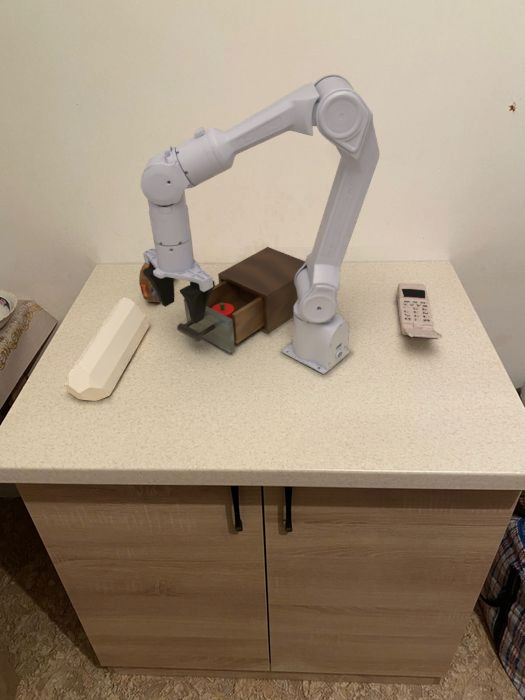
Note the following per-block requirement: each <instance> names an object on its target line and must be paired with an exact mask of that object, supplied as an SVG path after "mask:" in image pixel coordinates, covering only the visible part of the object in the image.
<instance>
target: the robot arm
mask: <svg viewBox="0 0 525 700" xmlns="http://www.w3.org/2000/svg"><path fill="white" fill-rule="evenodd" d="M373 116H374V113H373V112H372V109H370V107H369V105H367V103H366V101H365V100H364V99H363V97H362V96H361V94H360V93H358V91H356V90H355V88H354V86H352V85H351V83H350V82H349V81H348V79H346V78H345V77H344V76H342V75H339V74H335V73H333V74H332V73H331V74H330V73H329V74H326V75H323V76H322V77H320V78H318V79H317V80H316V81H315V82H312V81H311V82H308V83H305V84H302V85H301V86H299V87H297V88H296V89H294V90H292V91H291V92H289V93H288V94H286V95H284V96H282V97H280V98H279V99H277V100H275V101H274V102H272V103H270V104H269V105H267V106H265V107H264V108H262V109H260V110H259V111H256V112H255V113H254V114H252V115H251V116H249V117H246V118H245V119H244V120H242V121H240V122H238V123H237V124H236V125H234V126H232V127H230V128H228V129H227V130H224V129H219V128H217V127H213V126H212V127H210V128H207V129H206V130H205V128H204V127H203V126H201V127H199V128H197V129H195V130H194V133H193V135H194V136H193V137H192V138H189V139H188V140H185V141H184V142H182V143H180V144H178V145H177V146H175V147H172V145H169V146H167V147H165V148H164V150H163V152H162V151H161V152H157V153H155V154H153V155H152V156H151V157H150V158H149V159H148V160H147V163H146V165H145V167H144V169H143V171H142V174H141V178H140V187H141V191H142V194H143V195H144V196H145V198H146V200H147V204H148V215H149V219H150V220H149V221H150V226H151V227H150V228H151V232H152V240H153V244H154V247H151V248H149V249H146V250H145V251H142V254H143V260H144V263H145V262H146V263H148V264H150V265H149V267H148V268H146V269H144V270H143V274H144V275H145V276H146V277H147V279H148V280H149V281H150V282H151V284H152V285H153V287H154V289H155V291H156V293H157V295H158V297H159V299H160V303H161V305H162V306H163V307H164V308H165V307H168V306H170V305H171V304H173V303H175V295H176V294H175V281H174V278H175V280H182V281H185V282H189V284H188V285H186V286H184V287H182V288H181V289H179V293H180V294H181V296H182V297H183V300H184V299H185V301H186V303H187V306H188V309H189V314H190V318H191V320H192V322H193V323H195V324H196V323H198V322H199V321H201V320H203V319H204V315H205V309H206V305H207V301H208V298H209V296H210V294H211V292H212V290H213V288H214V287H215V285H216V283H215V281H214V279H213V276H212V275H211V274H209V273H208V272H206V270H204V268H203V267H202V266H201V265H200V263H198V262H197V260H196V259H195V256H194V247H193V239H192V231H191V222H190V215H189V213H190V212H189V207H188V205H187V199H186V198H187V197H186V191H185V190H187V189H193V188H195V187H197V186H199V185H200V184H203V183H204V182H206V181H208V180H211V179H212V178H214V177H217V176H218V175H220V174H222V173H224V172H226V171H228V170H229V169H232V167H233V165H234V162H235V158H236V157H237V155H239V154H241V153H244V152H245V151H248V150H249V149H252V148H255V147H256V146H258V145H261V144H263V143H265V142H267V141H269V140H272V139H273V138H276V137H278V136H281V135H283V134H284V133H287V132H294V133H298V134H303V135H306V136H310V137H313V136H314V129H313V127H316V128H317V130H318V132H319V133H320V135H321V136H322V137H323V138H325V140H327V141H328V142H329V143H330V144H332V145H333V146H334V147H335V148H336V150H337V152H338V153H339V156H340V159H339V162H338V166H337V169H336V172H335V175H334V179H333V180H332V185H331V188H330V190H329V195H328V198H327V202H326V203H325V207H324V210H323V214H322V216H321V221H320V224H319V227H318V231H317V233H316V237H315V240H314V244H313V247H312V250H311V253H309V254H307V255H306V257H305V260H304V261H305V263H304V265H303V266H302V267H301V268H300V269H299V270H298V272H297V273H296V275H295V278H294V284H295V287H296V289H297V295H298V300H297V301H296V303H295V305H294V313H293V317H292V318H293V319H292V323H293V324H292V342H291V343H290V344H289V345H287V346H286V347H285V348H283V349H282V353H283V354H284V355H286V356H288V357H290V358H292V359H294V360H295V361H297V362H299V363H301V364H303V365H305V366H307V367H309V368H311V369H313V370H314V371H316V372H318V373H320V374H322V375H325V374H327V373H328V372H329V371H330V370H332V369H333V368H334V367H335V366H336V365H337V364H339V362H341V361H342V360H343V359H344V358H345V357H347V356H348V355H349V354H350V350H349V339H350V330H351V329H350V328H351V327H350V323H349V322H348V321H347V320H346V319H344V318H343V317H341V315H339V313H338V309H339V301H338V293H339V290H340V288H341V287H340V285H341V267H342V264H343V261H344V259H345V255H346V254H347V253H346V252H347V250H348V247H349V245H350V241H351V239H352V236H353V233H354V231H355V228H356V224H357V222H358V219H359V216H360V213H361V210H362V207H363V205H364V202H365V199H366V195H367V193H368V192H369V191H368V190H369V188H370V185H371V183H372V180H373V176H374V175H375V171H376V168H377V165H378V162H379V159H380V155H381V153H380V148H379V144H378V143H379V142H378V138H377V134H376V129H375V125H374V117H373Z"/></svg>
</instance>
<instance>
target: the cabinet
mask: <svg viewBox="0 0 525 700" xmlns="http://www.w3.org/2000/svg"><path fill="white" fill-rule="evenodd" d="M304 263H305V260H303V259H300V258H298V257H295V256H293V255H290V254H287V253H285V252H282V251H280V250H277V249H275V248H272V247H269V246H266V247H264V248H263V249H261V250H259V251H256V253H253V254H252V255H250V256H248V257H246V258H245V259H242V260H241V261H239V262H237V263H235V264H233V265H231V266H230V267H228V268H226V269H224V270H222V271H220V272H219V273H217V277H218V284H219V283H221V282H222V281H224V280H225V281H227V282H230V283H232V284H234V285H236V286H238V287H240V288H243V289H245V290H247V291H249V292H251V293H253V294H256V295H258V296H260V297H262V298H264V323H265V325H264V326H262V327H261V328H260V329H258V330H257V331H260V332H262V333H265V334H266V335H269V334H270V333H272V332H274V331H275V330H276V329H277V328H279V327H280V326H282V325H283V324H285V323H286V322H287V321H289V320H290V319H291V318H293V313H294V305H295V303H296V301H297V300H298V295H297V289H296V287H295V284H294V278H295V275H296V273H297V272H298V270H299V269H300V268H301V267H302V266H303V265H304Z"/></svg>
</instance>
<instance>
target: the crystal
mask: <svg viewBox="0 0 525 700" xmlns="http://www.w3.org/2000/svg"><path fill="white" fill-rule="evenodd" d="M149 327H150V323H149V320H148V317H147V316H146V315H145V313H143V311H142V310H141V309H140V308H139V306H138V305H137V304H136V303H135V302H134V301H133V300H132V299H130V298H128V297H126V296H123V297H122V298H120V299H119V301H117V302H116V304H115V305H114V307H113V308H112V310H111V311H110V313H109V314H108V315H107V317H106V318H105V320H104V321H103V323H102V324H101V325H100V327H99V328H98V330H97V331H96V333H95V334H94V335H93V337H92V339H90V342H89V343H88V344H87V346H86V347H85V349H84V350H83V351H82V352H81V355H80V356H79V357H78V359H77V360H76V362H75V363H74V364H73V366H72V367H71V369H70V370H69V372H68V374H67V376H66V379H65V382H64V384H63V385H64V388H65V390H66V392H68V393H69V394H71V396H73V397H75V398H76V399H78V400H82V401H93V402H94V401H95V402H96V401H100V400H102V399H104V398H108V397H110V396H111V394H112V393H113V391H114V389H115V387H116V385H117V384H118V383H119V380H120V378H121V376H122V375H123V373H124V372H125V369H126V367H127V366H128V364H129V362H130V360H131V359H132V358H133V355H134V353H135V352H136V350H137V348H138V347H139V345H140V343H141V341H142V340H143V338H144V336H145V334H146V332H147V331H148V329H149Z"/></svg>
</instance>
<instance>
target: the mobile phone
mask: <svg viewBox="0 0 525 700" xmlns="http://www.w3.org/2000/svg"><path fill="white" fill-rule="evenodd" d="M396 293H397V294H396V295H397V296H396V302H397V307H398V315H399V321H400V330H401V334H402V336H409V337H411V338H416V339H417V338H418V339H428V340H429V339H430V340H440V339H442V338H443V335H442V334H440V333H439V332H437V331H436V330H434V325H433V319H432V311H431V305H430V301H429V300H430V299H429V295H428V290H427V286H426V284H424V283H409V282H399V283H398V285H397V292H396Z"/></svg>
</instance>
